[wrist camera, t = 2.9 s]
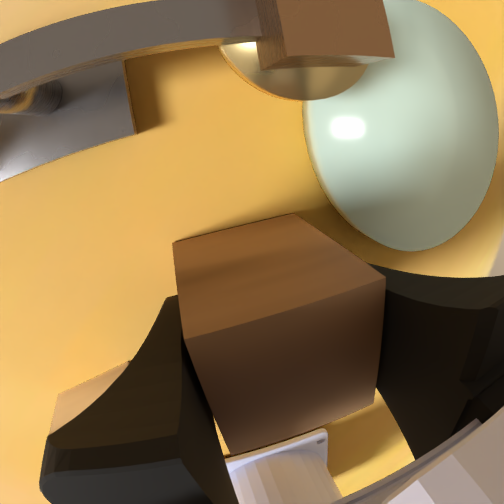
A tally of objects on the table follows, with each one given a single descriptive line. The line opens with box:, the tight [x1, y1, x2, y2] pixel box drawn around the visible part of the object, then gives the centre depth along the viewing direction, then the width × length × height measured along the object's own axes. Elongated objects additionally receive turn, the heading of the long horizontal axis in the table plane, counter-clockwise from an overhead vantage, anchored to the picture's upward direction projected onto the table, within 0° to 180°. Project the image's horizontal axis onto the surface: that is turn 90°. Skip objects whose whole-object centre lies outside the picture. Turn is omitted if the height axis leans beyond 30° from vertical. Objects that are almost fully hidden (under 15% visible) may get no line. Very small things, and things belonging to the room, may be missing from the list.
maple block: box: [40, 361, 129, 491], centre depth 10 cm, size 4×4×6 cm
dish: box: [302, 0, 499, 251], centre depth 11 cm, size 11×11×1 cm
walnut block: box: [172, 213, 386, 455], centre depth 10 cm, size 4×4×6 cm
